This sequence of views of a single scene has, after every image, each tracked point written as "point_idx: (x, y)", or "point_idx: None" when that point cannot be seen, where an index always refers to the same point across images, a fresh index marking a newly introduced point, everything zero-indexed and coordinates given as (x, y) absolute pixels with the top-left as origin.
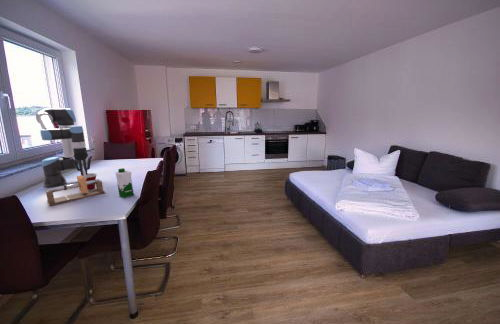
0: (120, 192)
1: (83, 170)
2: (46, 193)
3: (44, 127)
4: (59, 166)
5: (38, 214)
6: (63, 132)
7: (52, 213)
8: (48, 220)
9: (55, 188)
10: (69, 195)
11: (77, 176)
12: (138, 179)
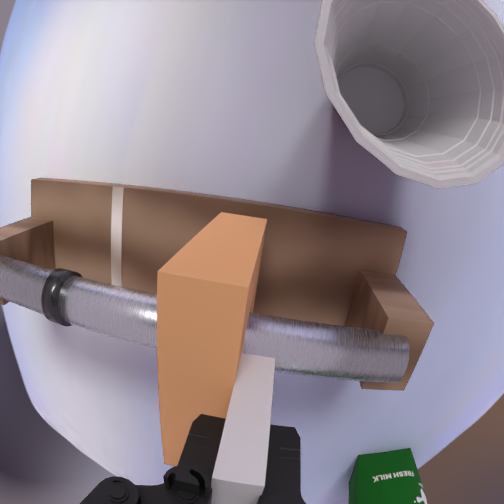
0: (350, 493)
1: (242, 487)
2: None
3: None
4: None
5: (24, 353)
6: None
7: (63, 395)
8: (63, 434)
9: (6, 299)
10: (143, 209)
11: (162, 311)
12: None
